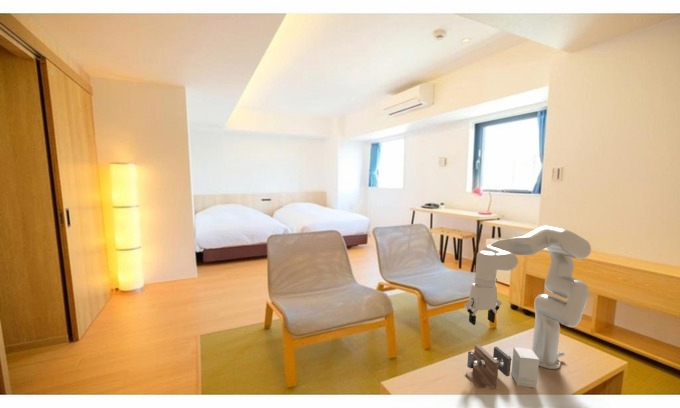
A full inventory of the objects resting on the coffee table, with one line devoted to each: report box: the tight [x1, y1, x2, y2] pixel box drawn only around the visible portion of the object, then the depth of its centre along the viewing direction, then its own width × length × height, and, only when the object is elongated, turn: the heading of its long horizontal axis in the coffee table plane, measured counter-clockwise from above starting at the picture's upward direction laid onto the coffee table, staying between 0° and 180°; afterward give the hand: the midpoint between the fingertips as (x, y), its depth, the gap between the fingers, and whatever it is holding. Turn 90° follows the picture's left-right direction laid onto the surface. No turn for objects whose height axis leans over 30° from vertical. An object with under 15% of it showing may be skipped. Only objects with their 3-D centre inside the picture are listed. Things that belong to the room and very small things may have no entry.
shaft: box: [466, 350, 513, 369], centre depth 123 cm, size 20×2×6 cm, turn 102°
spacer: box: [492, 346, 512, 377], centre depth 125 cm, size 2×8×8 cm, turn 13°
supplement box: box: [510, 346, 540, 388], centre depth 123 cm, size 7×7×13 cm
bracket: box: [465, 344, 499, 391], centre depth 123 cm, size 7×12×12 cm, turn 12°
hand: (481, 322), depth 120 cm, fingers open, 8 cm apart
